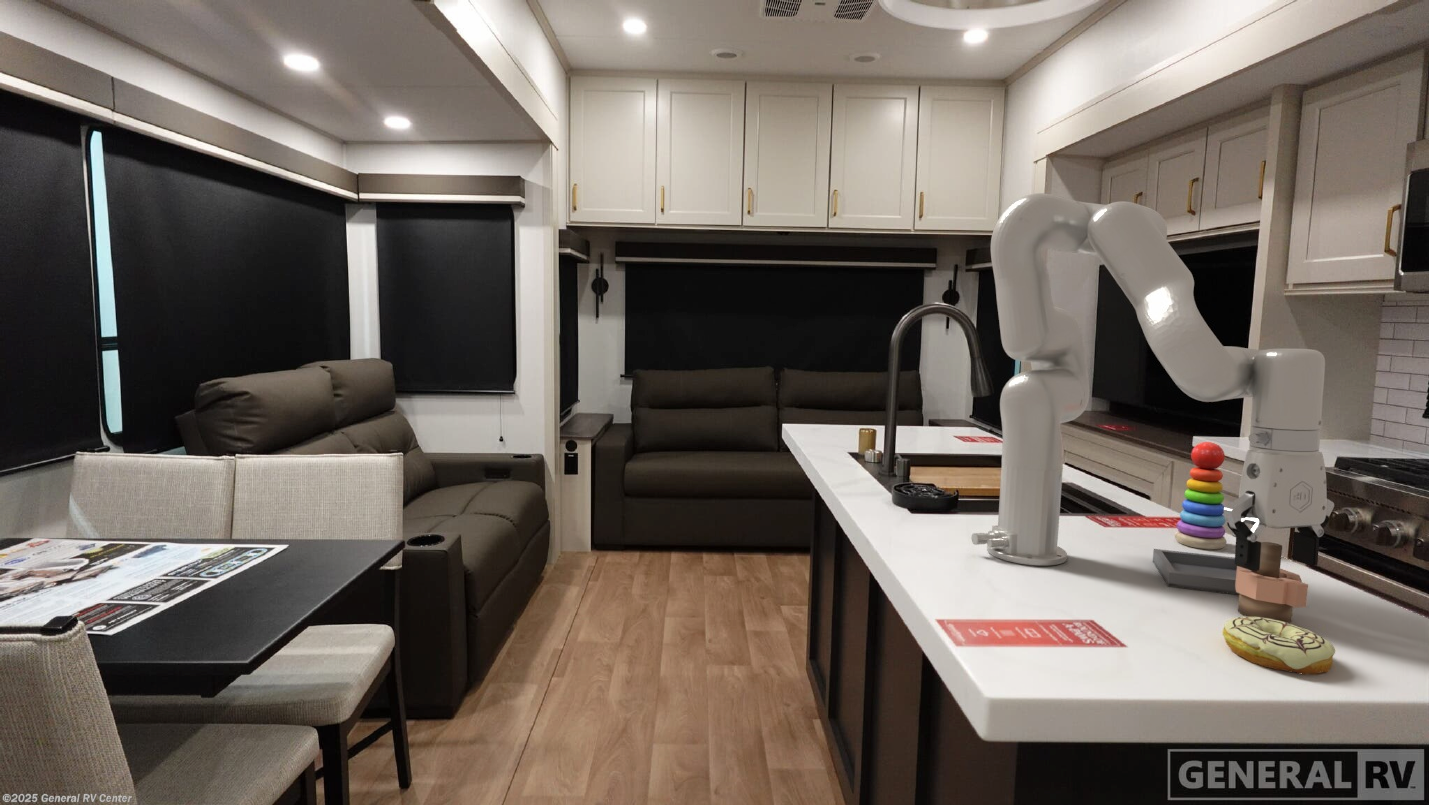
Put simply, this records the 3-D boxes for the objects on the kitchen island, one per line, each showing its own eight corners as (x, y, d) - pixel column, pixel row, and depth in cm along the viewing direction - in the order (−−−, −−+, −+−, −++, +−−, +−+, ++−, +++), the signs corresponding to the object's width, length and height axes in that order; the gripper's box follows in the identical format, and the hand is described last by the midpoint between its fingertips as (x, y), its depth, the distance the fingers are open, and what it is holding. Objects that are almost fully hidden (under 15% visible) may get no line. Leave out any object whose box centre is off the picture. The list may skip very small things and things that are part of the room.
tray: (1269, 598, 112) (1271, 584, 111) (1168, 586, 116) (1169, 572, 116) (1243, 571, 124) (1245, 558, 123) (1152, 561, 128) (1153, 548, 128)
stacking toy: (1236, 551, 135) (1246, 446, 133) (1190, 550, 135) (1199, 445, 133) (1208, 538, 143) (1217, 439, 141) (1165, 537, 143) (1173, 438, 141)
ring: (1279, 609, 99) (1281, 586, 99) (1223, 587, 107) (1225, 566, 107) (1321, 605, 101) (1323, 583, 101) (1263, 583, 109) (1265, 563, 109)
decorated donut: (1312, 688, 85) (1315, 655, 84) (1206, 652, 93) (1209, 622, 93) (1345, 665, 91) (1349, 634, 90) (1243, 633, 99) (1246, 605, 99)
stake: (1267, 625, 102) (1274, 552, 100) (1227, 608, 107) (1233, 539, 106) (1302, 622, 103) (1310, 549, 102) (1261, 605, 109) (1268, 537, 108)
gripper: (1257, 447, 97) (1249, 579, 98) (1363, 442, 101) (1354, 569, 102) (1206, 439, 104) (1199, 562, 106) (1307, 435, 108) (1299, 553, 110)
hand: (1275, 565), depth 104 cm, fingers open, 9 cm apart
